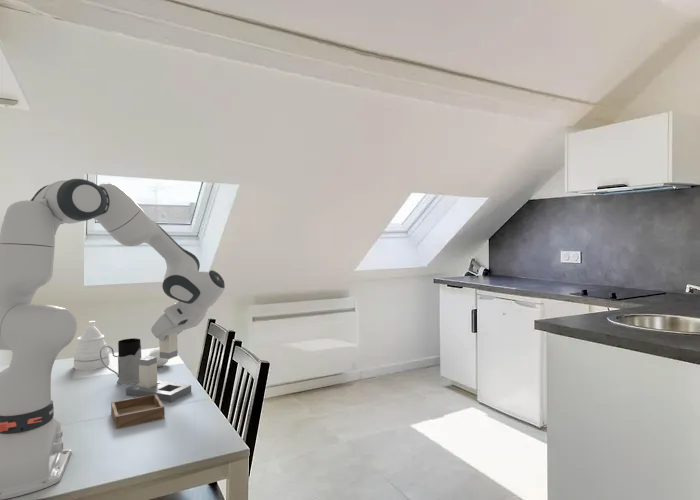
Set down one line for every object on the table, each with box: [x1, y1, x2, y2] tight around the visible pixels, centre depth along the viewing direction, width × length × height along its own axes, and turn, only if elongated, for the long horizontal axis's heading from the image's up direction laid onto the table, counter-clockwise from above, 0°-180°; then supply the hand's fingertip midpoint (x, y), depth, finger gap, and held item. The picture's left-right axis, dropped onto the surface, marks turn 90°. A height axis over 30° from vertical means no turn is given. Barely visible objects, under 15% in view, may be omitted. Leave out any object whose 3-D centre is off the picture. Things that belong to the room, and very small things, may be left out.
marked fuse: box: [158, 332, 179, 360], centre depth 153 cm, size 4×4×12 cm
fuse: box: [138, 355, 158, 389], centre depth 157 cm, size 4×4×12 cm
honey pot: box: [73, 320, 111, 371], centre depth 187 cm, size 13×13×18 cm
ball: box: [148, 347, 169, 368], centre depth 186 cm, size 8×8×8 cm
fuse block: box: [125, 379, 192, 403], centre depth 155 cm, size 19×10×2 cm, turn 70°
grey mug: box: [100, 337, 142, 385], centre depth 168 cm, size 9×14×15 cm, turn 112°
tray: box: [110, 394, 166, 430], centre depth 137 cm, size 13×13×4 cm
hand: (166, 337), depth 153 cm, fingers closed on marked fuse, 4 cm apart
